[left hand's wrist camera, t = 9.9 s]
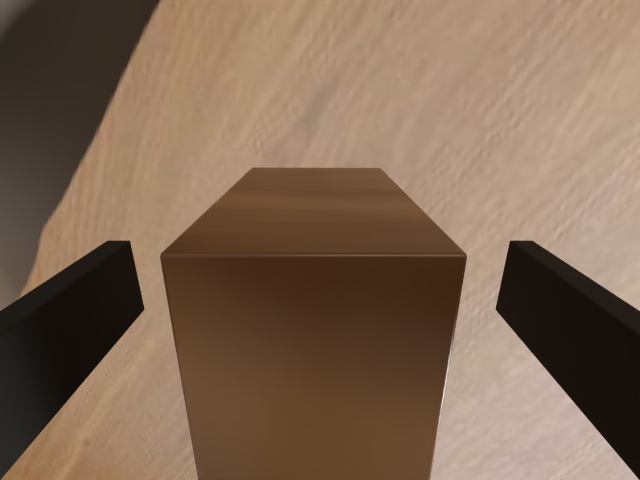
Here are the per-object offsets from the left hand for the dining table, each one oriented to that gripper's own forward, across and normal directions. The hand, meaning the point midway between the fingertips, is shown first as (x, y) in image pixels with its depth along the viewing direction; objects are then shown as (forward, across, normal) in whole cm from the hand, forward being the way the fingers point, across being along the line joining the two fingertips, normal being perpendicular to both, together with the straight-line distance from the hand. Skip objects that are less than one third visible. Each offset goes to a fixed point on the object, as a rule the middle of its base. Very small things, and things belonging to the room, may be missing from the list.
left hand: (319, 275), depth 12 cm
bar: (+3, 0, -8) cm, 9 cm away
